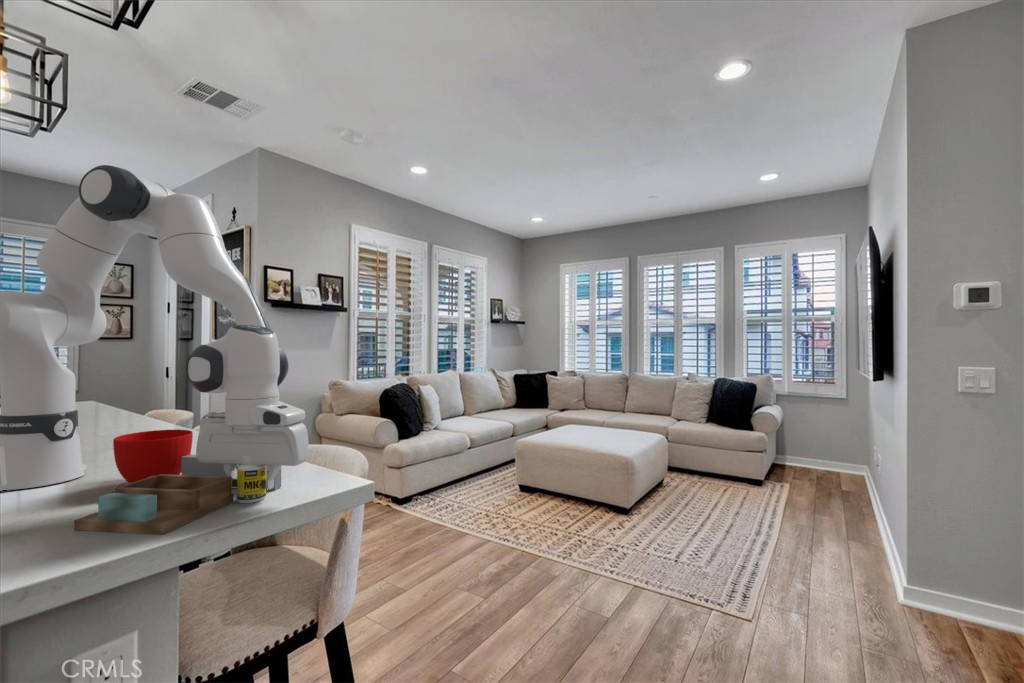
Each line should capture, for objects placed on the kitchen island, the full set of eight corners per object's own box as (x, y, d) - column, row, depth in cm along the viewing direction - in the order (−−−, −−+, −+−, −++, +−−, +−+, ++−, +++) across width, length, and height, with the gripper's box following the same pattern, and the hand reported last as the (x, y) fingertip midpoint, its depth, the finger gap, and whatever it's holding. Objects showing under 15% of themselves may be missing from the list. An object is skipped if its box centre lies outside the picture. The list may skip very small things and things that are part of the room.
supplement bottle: (241, 505, 83) (242, 458, 83) (233, 499, 86) (233, 453, 86) (270, 499, 87) (270, 453, 87) (260, 493, 90) (261, 449, 90)
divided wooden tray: (74, 529, 72) (74, 497, 72) (158, 498, 87) (158, 471, 87) (163, 534, 70) (163, 500, 70) (233, 501, 85) (233, 474, 85)
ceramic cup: (175, 469, 108) (175, 425, 108) (201, 482, 97) (201, 434, 97) (101, 481, 98) (102, 433, 98) (121, 498, 87) (122, 444, 87)
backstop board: (181, 486, 94) (181, 456, 94) (189, 484, 96) (189, 454, 96) (275, 490, 92) (275, 459, 92) (281, 487, 94) (281, 457, 94)
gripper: (187, 414, 85) (186, 491, 84) (294, 416, 82) (293, 495, 82) (213, 409, 91) (212, 481, 91) (313, 411, 89) (312, 484, 88)
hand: (252, 487), depth 86 cm, fingers closed on supplement bottle, 5 cm apart
